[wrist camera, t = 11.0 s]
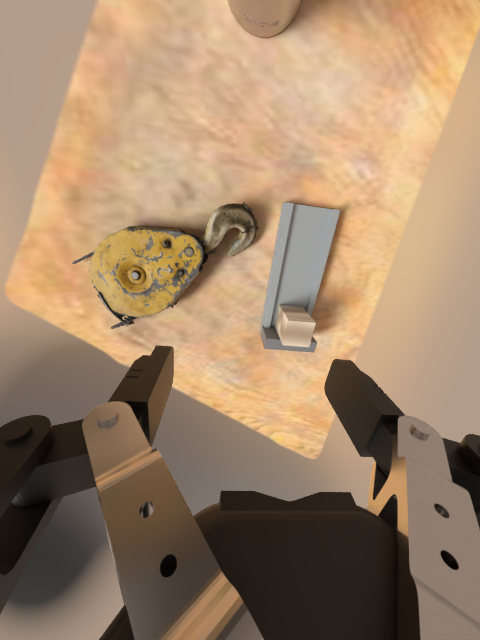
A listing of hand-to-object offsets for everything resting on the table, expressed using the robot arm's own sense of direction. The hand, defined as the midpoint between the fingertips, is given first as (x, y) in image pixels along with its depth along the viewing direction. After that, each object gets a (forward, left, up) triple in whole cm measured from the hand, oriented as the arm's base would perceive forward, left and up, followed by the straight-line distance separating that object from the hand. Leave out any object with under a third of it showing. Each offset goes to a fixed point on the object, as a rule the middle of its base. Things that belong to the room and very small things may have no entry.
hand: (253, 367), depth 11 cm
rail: (+2, +11, -30) cm, 32 cm away
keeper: (+9, +11, -29) cm, 32 cm away
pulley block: (+1, -10, -31) cm, 32 cm away
